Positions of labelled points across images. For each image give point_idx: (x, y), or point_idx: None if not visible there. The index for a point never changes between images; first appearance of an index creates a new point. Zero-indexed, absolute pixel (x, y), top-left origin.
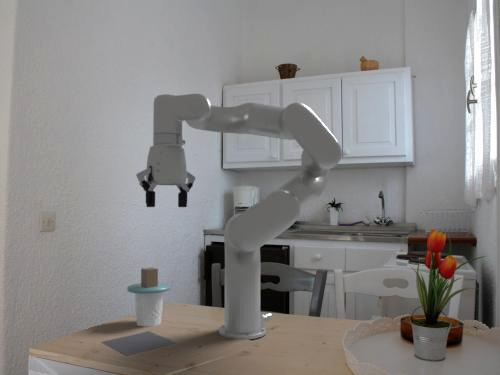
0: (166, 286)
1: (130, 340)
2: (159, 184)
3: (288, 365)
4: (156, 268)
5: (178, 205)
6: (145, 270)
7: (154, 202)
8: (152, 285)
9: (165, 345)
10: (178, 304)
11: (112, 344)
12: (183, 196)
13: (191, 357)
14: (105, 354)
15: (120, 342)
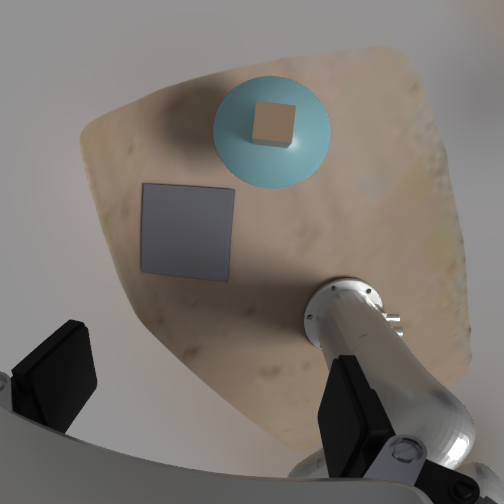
0: (303, 167)
1: (180, 213)
2: (98, 457)
3: (271, 421)
4: (292, 134)
5: (335, 363)
6: (253, 128)
7: (83, 400)
8: (270, 145)
9: (206, 279)
10: (409, 70)
11: (149, 209)
12: (331, 460)
13: (209, 335)
14: (129, 233)
15: (163, 210)
